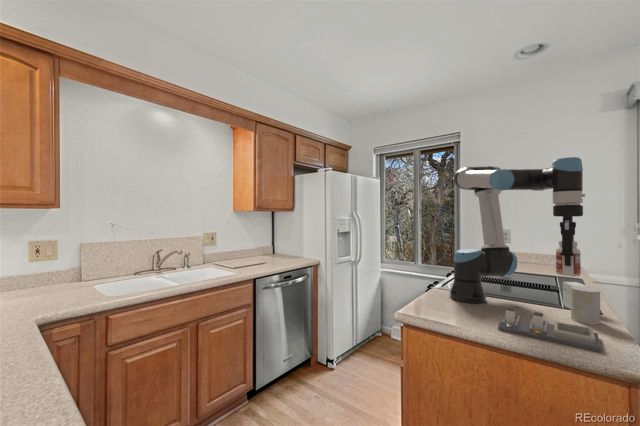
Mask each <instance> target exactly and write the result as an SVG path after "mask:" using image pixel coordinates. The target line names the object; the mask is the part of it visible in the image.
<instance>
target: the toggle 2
mask: <svg viewBox="0 0 640 426" xmlns="http://www.w3.org/2000/svg"><path fill="white" fill-rule="evenodd" d="M533 319H534V328H537V329H542V330H543V321H544V313H543V312H538V311H533Z"/></svg>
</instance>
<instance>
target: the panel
mask: <svg viewBox="0 0 640 426" xmlns="http://www.w3.org/2000/svg"><path fill="white" fill-rule="evenodd" d="M497 330H499V331H503V332H507V333H508V332H509V333H512V334H515V335H521V336H526V337H530V338H533V339H539V340H544V341H547V342H552V343H557V344H560V345H564V346H570V347H575V348H579V349H584V350H588V351H593V352H597V353H603V352H602V351H603V350H602V349H603V348H602V344H601V341H600V338H599V334H598V332H595V331H594V329H593V328H592V327H587V326H583V325H577V324H572V323H571V324H570V323H566V322H561V321H555V320H554V324H553V323H549V321H548V320H543V330H542V329H537V328H534V317H533V318H531V319H528V318H523V317H521V316H520V315H516V314H515V323H514V324H513V323H508V322H506V313H505V314H503V316H502V318H501V319H500V322H499V323H498V325H497Z"/></svg>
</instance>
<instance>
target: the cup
mask: <svg viewBox="0 0 640 426" xmlns="http://www.w3.org/2000/svg"><path fill="white" fill-rule="evenodd" d="M570 319H571V320H573V321H575V322H577V323H580V324H584V325H592V326H597V325H598V324H599V325H600V324H601V290H600V289H597V288H593V287H591V286H589V287H583V286H572V287H571V309H570Z"/></svg>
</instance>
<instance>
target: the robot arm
mask: <svg viewBox="0 0 640 426" xmlns="http://www.w3.org/2000/svg"><path fill="white" fill-rule="evenodd" d="M583 171H584V168H583V162H582V159H581V158H580V157H578V156H576V157H575V156H573V157H572V156H571V157H561V158H555V159H554V160H553V161H552V165H551V167H548V168H538V169H537V168H536V169H535V168H533V169H531V168H530V169H526V168H525V169H515V168H514V169H512V168H511V169H505V168H504V169H503V168H502V169H501V168H500V167H498V166H491V165H489V166H465V167H462V168H460V169H458V170H456V171H455V173H454V175H453V183H454V185H455V186H456V187H457V188H459V189H461V190H465V191H468V190H469V191H474V196H476V197H477V198H478V204H479V213H480V221H481V229H482V237H483V239H482V240H483V246H482V247H481V248H475V247H472V248H460V249H457V250H456V251H454V254H453V283H452V285H451V288H450V292H449V297H450V299H452V300H454V301H457V302H462V303H469V304H481V303H482V304H483V303H486V301H487V296H486V292H485V289H484V286H483V283H482V277H498V278H500V277H501V278H502V277H510V276H512V275H514V274H515V272H516V270H517V268H518V258H517V255H516V254H515V253H514V252H513V251H511V250H510V246H508V245H507V244H506V241H505V236H504V229H503V219H502V213H501V204H500V197H499V195H500V194H501V193H502V191H519V190H520V191H521V190H522V191H524V190H526V191H529V190H530V191H540V192H541V191H545V190H551V189H552V204H554V205H553V206H552V213H553V214H552V215H553V217H562V221H560V222H559V227H560V235H561V241H562V253H560V255H562V275H561V276H564V277H575V276H574V264H573V241H574V240H575V235H576V227H577V222H576V221H573V217H583V215H584V206H583V205H582V204H583V202H584V201H583V199H584V198H585V197H586V194H585V193H583V181H584V180H583ZM574 242H575V241H574Z"/></svg>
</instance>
